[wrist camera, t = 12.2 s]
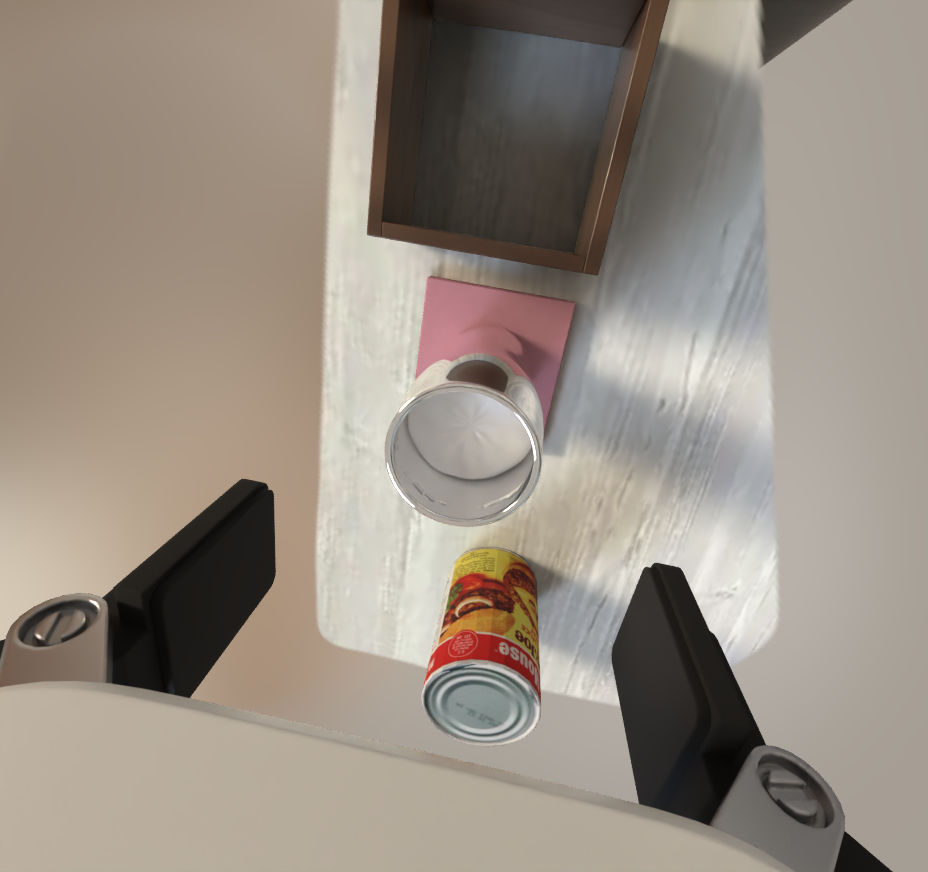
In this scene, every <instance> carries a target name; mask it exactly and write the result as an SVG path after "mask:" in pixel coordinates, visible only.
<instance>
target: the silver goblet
mask: <svg viewBox="0 0 928 872" xmlns="http://www.w3.org/2000/svg"><path fill="white" fill-rule="evenodd" d="M530 376H531V362H530V357H529V354H528V352H527V350H526V348H525V346H524V344H523V343H522V342H521V341H520V340H519V339H518V338H517V337H516V336H515V335H514V334H512V333H511V332H509V331H507V330H505V329H503V328H499V327H495V326H480V327H475V328H472V329H470V330H468V331H466V332H464V333H463V334H461V335H460V336H459V337H458V338H457V339H456V340H455V341H454V342H453V343H452V345H451V347H450V348H449V350H448V353H447V354H446V355H444V356H442V357H441V358H439V359H437V360H436V361H434V362H433V363H432V364H431V365H429V366H428V367H427V368H426V369H425V370H424V371H423V372H422V374H421V375H420V376H419V377H418V378H417V379H416V380H415V382H414V383H413V385H412V386H411V388H410V389H409V391H408V392H407V394H406V396H405V397H404V399H403V401H402V403H401V405H400V407H399V410H398V412H397V414H396V415H395V417H394V418H393V420H392V422H391V424H390V426H389V429H388V432H387V436H386V441H385V461H386V466H387V470H388V473H389V476H390V478H391V480H392V482H393V484H394V486H395V488H396V489H397V491H398V492H399V493H400V495H401V496H402V497H403V498H404V499H405V500H406V502H407V503H409V504H410V505H411V506H412V507H413V508H414V509H416V510H417V511H419V512H420V513H422V514H423V515H425V516H427V517H429V518H431V519H433V520H435V521H438V522H441V523H444V524H448V525H453V526H462V527H473V526H482V525H487V524H491V523H494V522H497V521H499V520H501V519H504V518H506V517H507V516H509V515H511V514H512V513H514V512H515V511H516V510H518V509H519V508H520V507H521V506H522V505H523V504H524V503H525V502H526V501H527V499H528V498H529V497H530V495H531V494H532V492H533V490H534V489H535V487H536V484H537V482H538V479H539V476H540V472H541V465H542V448H543V436H544V427H543V412H542V407H541V403H540V398H539V395H538V392H537V390H536V387H535V385H534V384H533V382H532V380H531V378H530Z"/></svg>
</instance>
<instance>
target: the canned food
mask: <svg viewBox="0 0 928 872" xmlns="http://www.w3.org/2000/svg"><path fill="white" fill-rule="evenodd" d="M422 706H423V709H424V711H425V713H426V715H427V717H428V719H429V720H430V721H431V722H432V723H433V725H434V726H435V727H436V728H438V729H439V730H440V731H442V732H443V733H444V734H446V735H447V736H449V737H451V738H453V739H455V740H458V741H460V742H463V743H467V744H470V745H475V746H484V747H494V746H504V745H507V744H511V743H515V742H517V741H519V740H521V739H523V738H524V737H526V736H528V735H529V734H530V733H531V731H533V730H534V729H535V728H536V725H537V723H538V721H539V719H540V714H541V692H540V664H539V636H538V609H537V582H536V578H535V575H534V572H533V570H532V569H531V567H530V566H529V564H528V563H527V562H526V561H525V560H523V559H522V558H521V557H520V556H518V555H517V554H515V553H513V552H511V551H509V550H505V549H501V548H497V547H483V548H477V549H473V550H471V551H468V552H466V553H464V554H463V555H462V556H460V557H459V558H458V559H457V560H456V561H455V562H454V564H453V565H452V567H451V569H450V572H449V576H448V580H447V584H446V589H445V593H444V598H443V602H442V607H441V611H440V615H439V620H438V624H437V629H436V633H435V638H434V642H433V646H432V651H431V655H430V660H429V664H428V669H427V673H426V678H425V682H424V686H423V691H422Z"/></svg>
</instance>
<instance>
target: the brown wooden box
mask: <svg viewBox="0 0 928 872" xmlns="http://www.w3.org/2000/svg"><path fill="white" fill-rule="evenodd" d="M669 1H670V0H383V3H382V17H381V32H380V47H379V62H378V77H377V91H376V106H375V121H374V136H373V151H372V165H371V180H370V195H369V210H368V225H367V235H369V236H374V237H380V238H386V239H391V240H397V241H403V242H408V243H414V244H420V245H426V246H431V247H437V248H443V249H448V250H454V251H460V252H465V253H471V254H477V255H483V256H488V257H494V258H500V259H505V260H511V261H517V262H522V263H528V264H534V265H540V266H545V267H551V268H557V269H562V270H568V271H574V272H579V273H585V274H591V275H596V276H597V275H598V273H599V269H600V265H601V262H602V258H603V254H604V250H605V246H606V242H607V239H608V235H609V231H610V227H611V223H612V219H613V216H614V212H615V208H616V204H617V200H618V196H619V193H620V189H621V185H622V181H623V177H624V173H625V170H626V166H627V162H628V158H629V154H630V150H631V147H632V143H633V139H634V135H635V131H636V127H637V124H638V120H639V116H640V112H641V108H642V104H643V101H644V97H645V93H646V89H647V85H648V81H649V78H650V74H651V70H652V66H653V62H654V58H655V55H656V51H657V47H658V43H659V39H660V35H661V32H662V28H663V24H664V20H665V16H666V12H667V9H668V5H669ZM433 19H436V20H443V21H450V22H456V23H463V24H469V25H476V26H483V27H489V28H496V29H502V30H509V31H515V32H522V33H529V34H535V35H542V36H548V37H555V38H561V39H568V40H575V41H581V42H588V43H594V44H601V45H608V46H614V47H622V46H623V47H622V51H621V55H620V59H619V63H618V68H617V72H616V76H615V80H614V85H613V89H612V93H611V97H610V102H609V106H608V110H607V114H606V118H605V123H604V127H603V131H602V135H601V140H600V144H599V148H598V152H597V156H596V161H595V165H594V169H593V173H592V178H591V182H590V186H589V190H588V195H587V199H586V203H585V207H584V211H583V216H582V220H581V224H580V228H579V233H578V237H577V241H576V245H575V250H574V253H568V252H563V251H557V250H551V249H545V248H539V247H534V246H528V245H522V244H516V243H511V242H505V241H499V240H493V239H488V238H482V237H476V236H470V235H465V234H459V233H453V232H447V231H442V230H436V229H430V228H424V227H419V226H413V225H412V217H413V207H414V197H415V187H416V178H417V168H418V158H419V148H420V139H421V129H422V119H423V109H424V100H425V90H426V80H427V70H428V61H429V51H430V41H431V32H432V22H433Z"/></svg>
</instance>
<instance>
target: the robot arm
mask: <svg viewBox="0 0 928 872" xmlns="http://www.w3.org/2000/svg"><path fill="white" fill-rule="evenodd" d="M274 528H275V526H274V494H273V491H272V490H268V486H267V484H265V483H262V482H258V481H253V480H248V479H241V480H239V481H238V482H237V483H236V484H235V485H233V486H232V487H231V488H230V489H229V490H228V491H226V492H225V493H224V494H223V495H222V496H220V497H219V498H218V499H217V500H216V501H215V502H213V503H212V504H211V505H210V506H209V507H208V508H206V509H205V510H204V511H203V512H202V513H201V514H199V515H198V516H197V517H196V518H195V519H193V520H192V521H191V522H190V523H189V524H188V525H186V526H185V527H184V528H183V529H182V530H181V531H179V532H178V533H177V534H176V535H175V536H173V537H172V538H171V539H170V540H169V541H168V542H166V543H165V544H164V545H163V546H162V547H160V548H159V549H158V550H157V551H156V552H155V553H154V554H152V555H151V556H150V557H149V558H148V559H146V560H145V561H144V562H143V563H142V564H140V565H139V566H138V567H137V568H136V569H135V570H133V571H132V572H131V573H130V574H129V575H128V576H126V577H125V578H124V579H123V580H122V581H120V582H119V583H118V584H117V585H116V586H115V587H114V588H113V589H112V590H111V591H110V592H109V593H108V594H106V595H105V596H104V597H103V598H101V597H100V596H96V595H93V594H86V593H76V594H69V595H63V596H60V597H57V598H54V599H50V600H47V601H45V602H43V603H41V604H39V605H37V606H35V607H33V608H31V609H30V610H29V611H27V612H26V613H24V614H23V615H21V616H20V617H19V618H18V619H17V620H16V621H15V622H14V623H13V624H12V626H11V627H10V629H9V631H8V633H7V636H6V639H5V640H1V641H0V872H892V871H891V870H890V869H889V868H887V867H886V866H885V865H884V864H883V863H882V862H880V861H879V860H878V859H877V858H876V857H875V856H873V855H872V854H871V853H870V852H869V851H867V850H866V849H865V848H864V847H863V846H862V845H861V844H859V843H858V842H857V841H856V840H855V839H854V838H852V837H851V836H850V835H849V834H848V833H846V832H845V831H844V830H845V815H844V812H843V810H842V807H841V804H840V802H839V800H838V799H837V797H836V795H835V793H834V792H833V790H832V788H831V787H830V786H829V785H828V783H827V782H826V781H825V780H824V779H823V778H822V777H821V775H820V774H819V773H818V772H817V771H815V770H814V769H813V768H812V767H811V766H810V765H809V764H807V763H806V762H805V761H804V760H802V759H800V758H799V757H797V756H795V755H794V754H792V753H791V752H788V751H786V750H784V749H781V748H779V747H774V746H768V745H766V744H765V742H764V739H763V737H762V735H761V733H760V731H759V729H758V727H757V724H756V722H755V720H754V718H753V716H752V713H751V711H750V709H749V707H748V705H747V703H746V700H745V699H744V696H743V694H742V692H741V690H740V687H739V685H738V683H737V681H736V679H735V677H734V675H733V672H732V670H731V668H730V666H729V663H728V661H727V659H726V657H725V655H724V653H723V650H722V648H721V646H720V644H719V642H718V640H717V638H716V637H715V635H714V634H713V633H712V632H710V631H709V629H708V626H707V624H706V622H705V620H704V618H703V615H702V613H701V611H700V609H699V607H698V604H697V602H696V600H695V598H694V595H693V593H692V591H691V589H690V587H689V584H688V582H687V580H686V578H685V575H684V573H683V571H682V570H681V568H679V567H675V566H670V565H665V564H660V563H654V564H653V565H652V566H651V568H649V567H645V568H644V569H643V571H642V574H641V576H640V579H639V581H638V584H637V586H636V589H635V591H634V594H633V597H632V599H631V602H630V604H629V607H628V609H627V612H626V614H625V617H624V619H623V622H622V624H621V627H620V629H619V632H618V634H617V637H616V640H615V642H614V645H613V648H612V664H613V670H614V675H615V680H616V685H617V691H618V696H619V701H620V706H621V711H622V716H623V721H624V727H625V732H626V738H627V743H628V748H629V753H630V758H631V764H632V769H633V774H634V779H635V785H636V790H637V795H638V800H639V804H636V803H633V802H629V801H625V800H621V799H617V798H613V797H610V796H606V795H602V794H598V793H594V792H590V791H586V790H583V789H578V788H574V787H570V786H566V785H562V784H558V783H554V782H549V781H545V780H541V779H537V778H532V777H529V776H524V775H520V774H516V773H512V772H508V771H504V770H499V769H495V768H491V767H487V766H483V765H479V764H474V763H470V762H465V761H462V760H458V759H453V758H449V757H445V756H441V755H436V754H432V753H427V752H423V751H419V750H415V749H410V748H406V747H402V746H398V745H394V744H389V743H385V742H381V741H376V740H372V739H368V738H364V737H359V736H354V735H351V734H346V733H342V732H337V731H333V730H329V729H325V728H320V727H316V726H312V725H307V724H303V723H298V722H294V721H290V720H285V719H281V718H276V717H272V716H268V715H263V714H259V713H254V712H250V711H245V710H241V709H237V708H232V707H228V706H224V705H219V704H215V703H210V702H205V701H200V700H196V699H191V698H190V697H191V695H192V694H193V693H194V691H195V690H196V689H197V687H198V686H199V685H200V683H201V682H202V680H203V679H204V678H205V676H206V675H207V674H208V672H209V671H210V670H211V668H212V667H213V665H214V664H215V663H216V661H217V660H218V659H219V657H220V656H221V655H222V653H223V652H224V650H225V649H226V648H227V646H228V645H229V644H230V642H231V641H232V640H233V638H234V637H235V635H236V634H237V633H238V631H239V630H240V629H241V627H242V626H243V625H244V623H245V622H246V620H247V619H248V617H249V616H250V615H251V614H252V612H253V611H254V610H255V608H256V607H257V605H258V604H259V602H260V601H261V600H262V599H263V597H264V596H265V594H266V593H267V592H268V590H269V589H270V588H271V586H272V584H273V582H274V578H275V573H276V570H275V569H276V568H275V529H274Z"/></svg>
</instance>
